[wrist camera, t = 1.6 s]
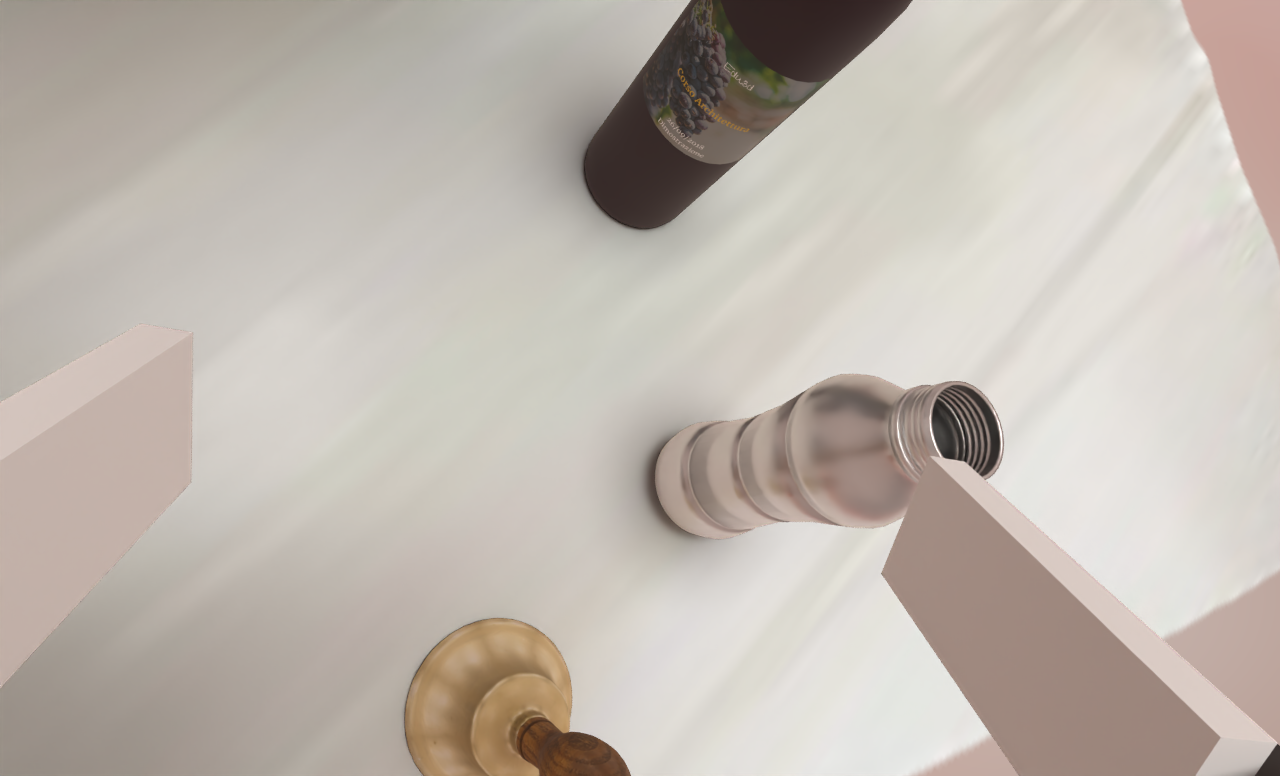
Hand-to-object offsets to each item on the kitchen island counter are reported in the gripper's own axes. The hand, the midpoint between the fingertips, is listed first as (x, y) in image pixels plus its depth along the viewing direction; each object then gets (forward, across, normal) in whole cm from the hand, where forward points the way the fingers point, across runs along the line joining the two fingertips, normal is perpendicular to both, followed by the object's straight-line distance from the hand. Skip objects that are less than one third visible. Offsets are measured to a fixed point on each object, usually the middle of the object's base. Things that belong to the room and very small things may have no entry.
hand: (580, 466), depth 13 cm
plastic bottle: (+26, +10, -14) cm, 31 cm away
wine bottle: (+36, +4, +2) cm, 36 cm away
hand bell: (+16, 0, -22) cm, 28 cm away
